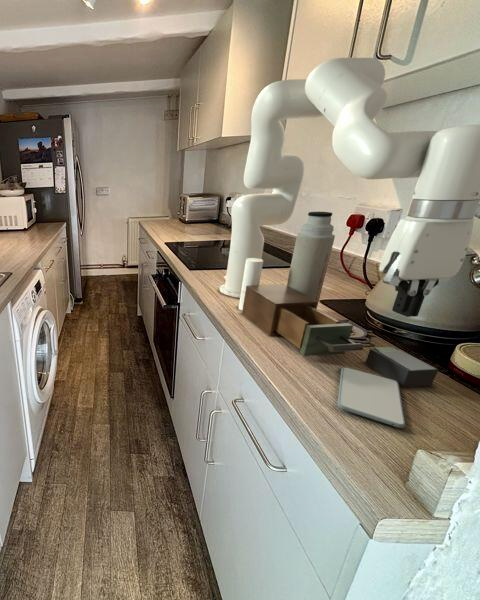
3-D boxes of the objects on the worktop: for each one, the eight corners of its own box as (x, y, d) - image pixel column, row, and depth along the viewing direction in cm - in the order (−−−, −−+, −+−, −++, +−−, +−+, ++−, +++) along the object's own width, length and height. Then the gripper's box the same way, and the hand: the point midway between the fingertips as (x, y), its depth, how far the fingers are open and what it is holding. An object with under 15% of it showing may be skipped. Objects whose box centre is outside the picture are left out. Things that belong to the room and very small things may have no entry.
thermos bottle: (318, 313, 89) (345, 211, 79) (309, 322, 84) (335, 214, 74) (287, 306, 95) (308, 209, 85) (276, 313, 90) (297, 212, 80)
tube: (240, 311, 93) (248, 261, 87) (237, 305, 97) (244, 257, 91) (256, 312, 92) (265, 261, 86) (252, 306, 96) (260, 258, 90)
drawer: (364, 366, 63) (374, 336, 61) (320, 369, 63) (329, 339, 61) (304, 328, 80) (310, 303, 77) (269, 329, 79) (274, 304, 77)
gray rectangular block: (402, 387, 58) (409, 370, 57) (364, 363, 66) (369, 347, 64) (431, 385, 58) (439, 368, 57) (390, 362, 66) (396, 346, 65)
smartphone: (398, 380, 59) (406, 426, 48) (397, 385, 59) (404, 431, 48) (341, 365, 64) (337, 404, 53) (340, 370, 64) (336, 409, 54)
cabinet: (309, 333, 79) (317, 301, 75) (269, 335, 78) (276, 303, 75) (276, 312, 91) (282, 283, 88) (241, 313, 91) (246, 285, 88)
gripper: (459, 206, 55) (423, 304, 62) (374, 210, 55) (347, 307, 62) (516, 210, 48) (468, 320, 55) (418, 215, 48) (382, 324, 55)
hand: (404, 313), depth 58 cm, fingers closed
